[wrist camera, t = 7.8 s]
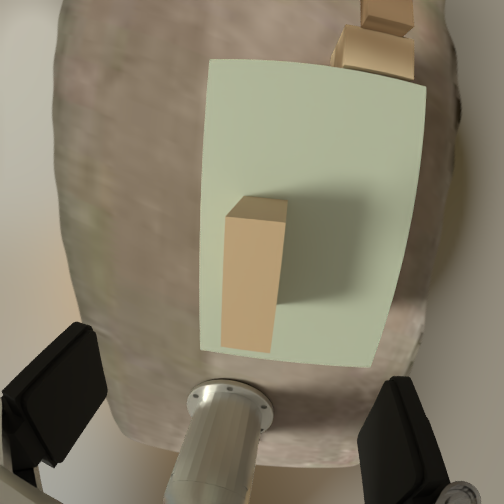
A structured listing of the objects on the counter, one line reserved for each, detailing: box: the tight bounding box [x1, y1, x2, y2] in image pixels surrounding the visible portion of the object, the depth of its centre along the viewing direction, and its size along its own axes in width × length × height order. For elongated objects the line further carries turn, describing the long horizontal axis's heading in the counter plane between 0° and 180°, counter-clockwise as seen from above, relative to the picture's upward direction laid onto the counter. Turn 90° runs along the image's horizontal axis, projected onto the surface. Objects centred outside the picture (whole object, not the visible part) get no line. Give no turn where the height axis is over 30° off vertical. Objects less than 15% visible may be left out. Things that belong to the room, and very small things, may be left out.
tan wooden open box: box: [330, 24, 414, 82], centre depth 25 cm, size 26×14×10 cm, turn 176°
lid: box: [199, 59, 426, 368], centre depth 19 cm, size 23×15×8 cm, turn 176°
